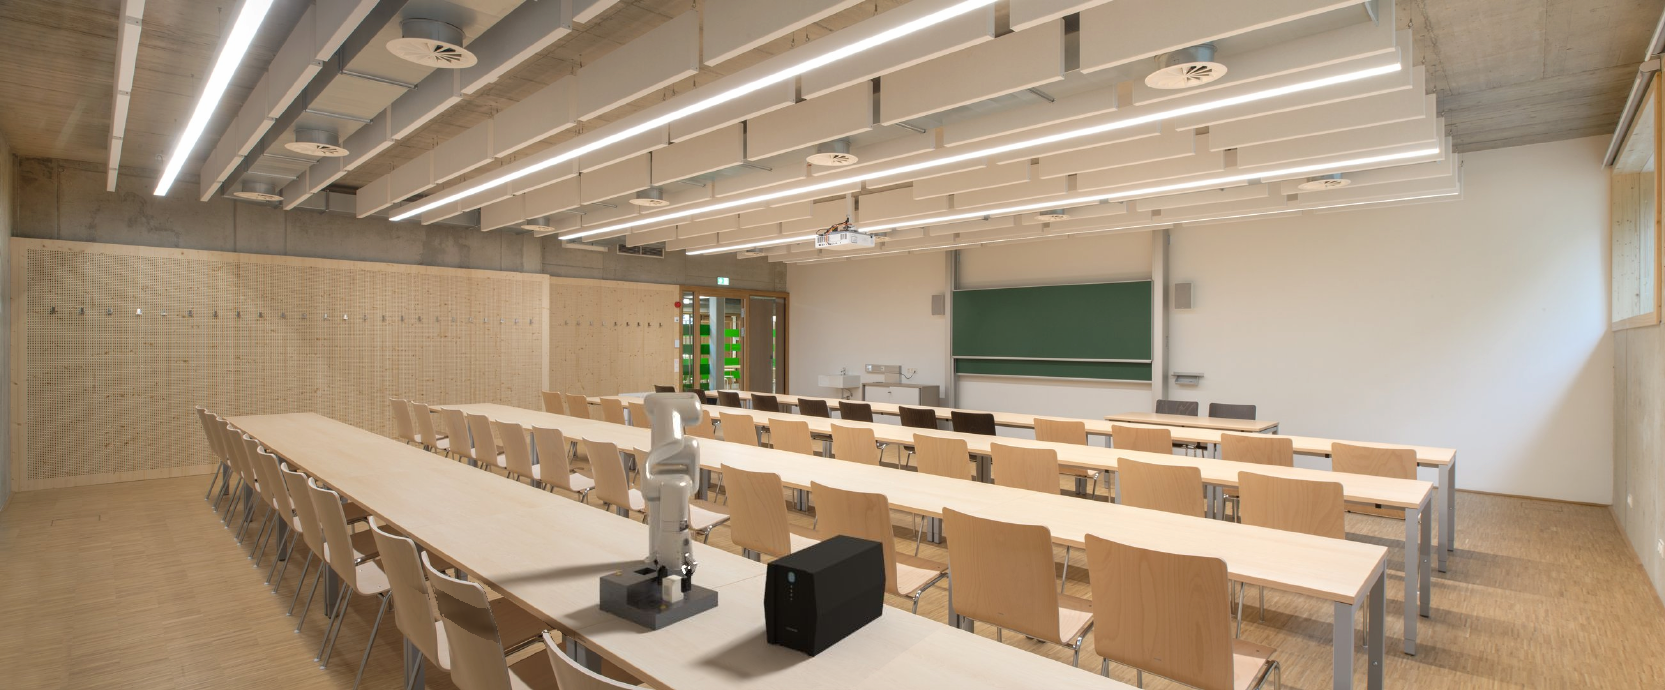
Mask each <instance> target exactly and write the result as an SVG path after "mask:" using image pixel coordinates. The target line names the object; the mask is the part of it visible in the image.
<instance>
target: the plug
mask: <svg viewBox="0 0 1665 690" xmlns="http://www.w3.org/2000/svg"><path fill="white" fill-rule="evenodd" d="M681 578H683V577H680V576H676V575H672V576H669V577H666V578H663V600H665V601H668V602H671V603H673V602H676V601H679V600H682V599H684V593H682V592H681Z"/></svg>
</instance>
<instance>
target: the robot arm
mask: <svg viewBox="0 0 1665 690" xmlns="http://www.w3.org/2000/svg"><path fill="white" fill-rule="evenodd" d="M642 403H643V409H644V413H645V414H646V416H647V418H648V421H649V423H650V450H649V451H648V452H647V454H645V457H644V458H643V460H642V462H641V466H640V493H641V497H642V499H643V500H644V502H646V503H648V556H646V557H645V558H644V559H643V564H645V563H648V562H651V561H654V563H655V565H656V570H657V585H659V586H660V585H663V578H666V577H668V569H667V568H666V567H670V568H673V569H677V570H680V573H681V575H682V577H683V578H681V592H682V593H684V592H687V591H690V590H691V584H692V577H693V576H694V574H695V573H696V569H697V567H698V562H697V561H696V560H695V558H694V552H693V551H694V550H693V542H692V541H693V540H692V535H691V530H689V498H690V496H691V495H695V494H696V493H698V491H699V488H700V474H701V473H700V472H701V471H700V468H701V467H700V464H701V462H700V461H701V451H700V450H701V449H700V443H699V441H698V439H697V438H696V437H694V436H685V432H684V427H697V426H699V425H700V424H701V423H702V421H703V413H704V411H703V405H702V402H701V399H700V397H699V396H698V394H697V393H695V392H691V391H690V392H687V391H685V392H684V391H683V392H653V393H648V394H646V395H645V396H644V398H643V402H642ZM655 465H656V466H661V467H656V468H654V469H652V468H653V467H654V466H655ZM671 466H672V467H671ZM676 466H677V467H676ZM682 565H684V566H682ZM665 568H666V569H665ZM684 569H686V570H687V571H686V573H685V570H684Z"/></svg>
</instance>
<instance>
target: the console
mask: <svg viewBox="0 0 1665 690" xmlns="http://www.w3.org/2000/svg"><path fill="white" fill-rule="evenodd" d="M682 566H684V565H682ZM666 568H667V569H668V577H669V576H672V575H676V576H680V577H682V575H681V573H680V570H677V569H673V568H670V567H666ZM666 568H665V569H666ZM684 570H685V573H686V571H687V570H686V569H684ZM718 606H719V591H717V590H714V589H711V588H706V587H704V586H700V585H697V584H695V583H691V590H690V591H687V592H684V599H682V600H679V601H676V602H673V603H671V602H668V601H665V600H663V585H660V586H659V585H657V570H656V565H655V563H654V561H651V562H648V563H641V564H639V565H635V566H632V567H629V568H624V569H622V570H619V571H615V572H611V573H609V574H606V575H602V576H600V577H599V610H601V611H602V612H606V613H608V614H611V615H613V616H615V617H619V618H622V619H625V620H627V621H630V622H632V623H634V624H638V625H641V626H643V627H645V628H648V629H651V630H653V631H658V630H660V629H663V628H665V627H668V626H671V625H673V624H676V623H677V622H681V621H683V620H686V619H689V618H690V617H694V616H695V615H699V614H702V613H704V612H707V611H708V610H711V609H713V608H716V607H718Z"/></svg>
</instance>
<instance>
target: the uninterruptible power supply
mask: <svg viewBox="0 0 1665 690" xmlns="http://www.w3.org/2000/svg"><path fill="white" fill-rule="evenodd" d="M885 564H886V563H885V558H884V546H883V541H876V540H871V539H866V538H862V537H861V538H860V537H856V536H855V537H854V536H850V535H844V534H838V535H835V536H832V537H829V538H827V539H826V540H825V539H824V540H823V541H820V542H818V543H814V544H812V545H810V546H807V547H805V548H803V549H799V550H797V551H795V552H791V553H789V554H787V555H784V556H782V557H779V558H777V559H775V560H772V561H771V560H770V562H767V563H766V565H767V566H766V575H765V585H764V595H763V609H764V610H763V611H764V622H765V623H764V624H765V634H766V644H769V645H772V646H779V647H780V646H781V647H783V648H786V649H789V650H792V651H795V652H799V653H803V654H805V655H806V656H807V657H810V658H815V657H816V656H818V655H819V654H821V653H823V652H824V651H826V650H828V649H829V648H831V647H832V646H834V645H836V644H838V643H839V642H841V641H842V640H844V639H846V638H847V637H849V636H850V635H852V634H854V633H856V632H857V631H859V630H861V629H862V628H864V627H865V626H867V625H869V624H870V623H873V621H875V620H877V619H878V618H880V617H882V616H883V612H884V603H885V591H886V584H887V575H886V566H885Z"/></svg>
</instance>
